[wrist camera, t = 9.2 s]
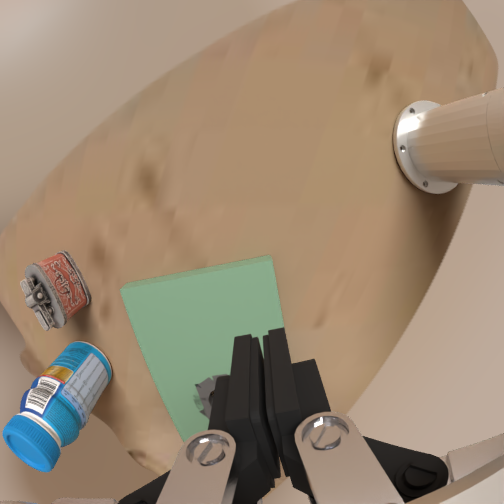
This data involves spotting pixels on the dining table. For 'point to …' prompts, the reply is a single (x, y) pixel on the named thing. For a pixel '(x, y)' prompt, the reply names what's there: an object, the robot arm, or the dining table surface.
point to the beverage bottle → (58, 405)
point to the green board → (200, 329)
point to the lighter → (55, 290)
